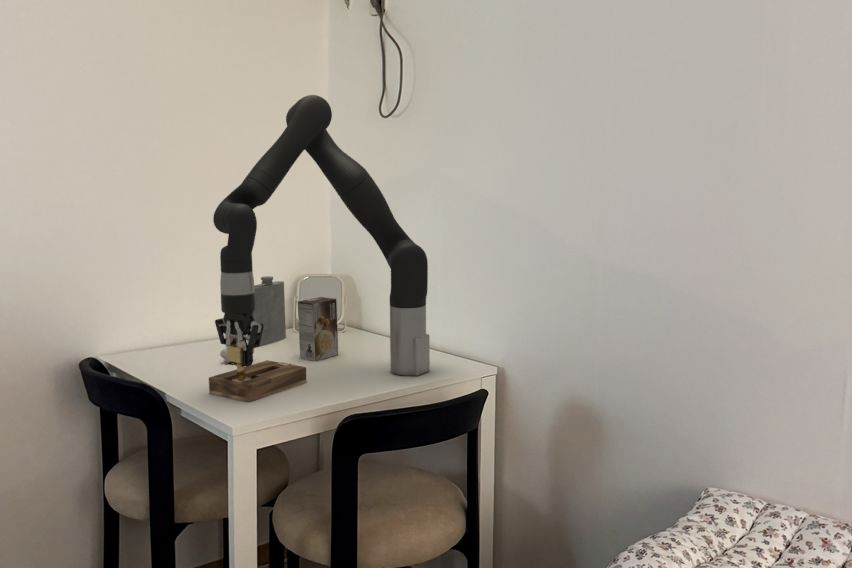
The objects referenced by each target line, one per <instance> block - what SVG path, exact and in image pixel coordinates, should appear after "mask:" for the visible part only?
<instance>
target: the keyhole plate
mask: <svg viewBox="0 0 852 568" xmlns="http://www.w3.org/2000/svg"><path fill="white" fill-rule="evenodd" d="M235 377H237V368H236V369H233V370H230V371H227V372H223V373H220V374H216V375H213V376H210V377H208V390H209V391H208V393H209V394H210V395H211V394H212V395H216V396H220V397H224V398H228V399H233V400H236V401H237V400H238V401H243V402H246V403H251V402H254V401H257V400H261V399H262V398H266V397H268V396H271V395H274V394H277V393H281V392H282V391H286V390H289V389H291V388H294V387H297V386H300V385H304V384H306V383H307V367H306V366H302V365H301V366H300V365H296V364H291V363H290V362H289V363H288V362H282V361H279V362H278V361H274V360H267V359H266V360H263V361H260V362H257V363H254V364H253V363H252V365H250V366H247V367H246V366H245V377H250V378H251V379H250V380H247V381H244V382H236V381H232V379H233V378H235Z"/></svg>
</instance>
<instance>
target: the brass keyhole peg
mask: <svg viewBox="0 0 852 568" xmlns="http://www.w3.org/2000/svg"><path fill="white" fill-rule="evenodd" d="M247 345H248V343H247ZM226 348H227V352H228V361H231V362H236V363H235V364H236V369H237V377H235V378H233V379H232V381H236V382H244V381H247V380H250V379H251V378H250V377H245V367H246V366H243V351H244V350H243V348H242V344H241V343H237V344H233V345H229V346H227V347H226Z"/></svg>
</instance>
